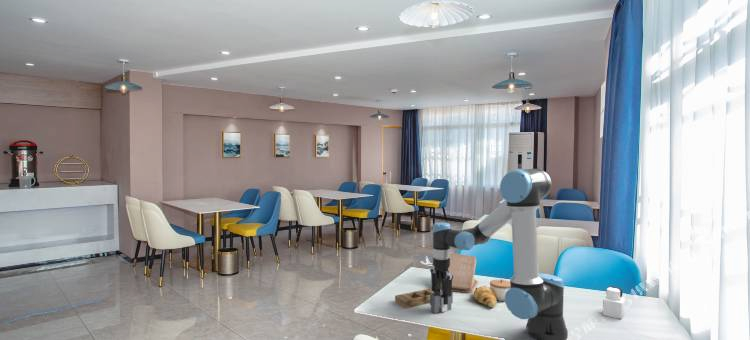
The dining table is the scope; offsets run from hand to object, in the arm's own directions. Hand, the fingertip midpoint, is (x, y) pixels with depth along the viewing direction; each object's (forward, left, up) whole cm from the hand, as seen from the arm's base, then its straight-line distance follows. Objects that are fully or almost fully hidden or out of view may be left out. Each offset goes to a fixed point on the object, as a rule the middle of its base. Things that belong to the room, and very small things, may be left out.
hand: (441, 309), depth 195 cm
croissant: (-1, -25, -1) cm, 25 cm away
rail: (+15, +1, -1) cm, 15 cm away
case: (+24, -29, -1) cm, 38 cm away
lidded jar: (-3, -34, -1) cm, 34 cm away
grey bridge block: (0, 0, -1) cm, 1 cm away
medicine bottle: (-42, -61, -1) cm, 74 cm away
